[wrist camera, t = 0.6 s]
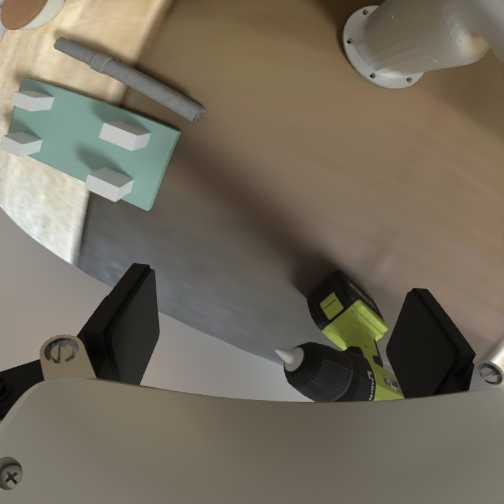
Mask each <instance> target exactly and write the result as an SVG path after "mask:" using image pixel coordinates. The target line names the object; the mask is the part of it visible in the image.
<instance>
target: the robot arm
mask: <svg viewBox="0 0 504 504" xmlns="http://www.w3.org/2000/svg"><path fill="white" fill-rule="evenodd" d="M363 13H365V15H364V14H363ZM347 41H349V42H350V44H348V43H347ZM342 42H343V48H344V51H345V54H346V57H347V58H348V60H349V62H350V64H351V65H352V66H353V68H354V69H355V70H356V71H357V72H358V73H359V74H360V75H361V76H362V77H363V78H365V79H366V80H368V81H369V82H371V83H373V84H375V85H377V86H380V87H384V88H391V89H396V88H403V87H408V86H410V85H412V84H414V83H415V82H416V81H418V80H419V79H420V77H421V76H422V75H423V73H424V72H427V71H432V70H438V69H443V68H449V67H456V66H462V65H468V64H471V63H474V62H476V61H478V60H479V59H481V58H482V57H483V56H484V55H485V54H486V52H487V51H488V50H489V48H491V49H492V51H493V52H494V54H495V55H496V57H497V58H498V60H499V61H500V62H501V63H502V64H503V66H504V0H386V1H385V2H383V3H382V4H381V5H380V6H379V5H377V6H367V7H363V8H361V9H359V10H357V11H356V12H355V13H354V14H352V15H351V16H350V18H349V19H348V20H347V22H346V24H345V25H344V29H343V33H342ZM370 75H372V78H370ZM406 79H408V82H407V80H406ZM159 332H160V330H159V318H158V307H157V295H156V280H155V271H154V269H150V266H149V265H147V264H138V263H133V264H132V265H131V267H130V268H129V269H128V270H127V272H126V273H125V274H124V275H123V277H122V278H121V279H120V281H119V282H118V283H117V285H116V286H115V287H114V288H113V290H112V291H111V293H110V294H109V295H107V296H106V297H105V298H104V299H103V301H102V302H101V303H100V305H99V306H98V307H97V309H96V310H95V311H94V313H93V314H92V316H91V317H90V318H89V320H88V321H87V323H86V324H85V325H84V327H83V328H82V330H81V331H80V332H79V334H78V335H77V336H72V335H65V334H64V335H57V336H55V337H52V338H50V339H49V340H47V341H46V342H45V343H44V344H43V345H42V347H41V349H40V359H39V360H36V361H33V362H30V363H27V364H23V365H20V366H17V367H14V368H11V369H8V370H5V371H1V372H0V504H504V373H503V371H502V370H501V369H500V368H499V367H498V366H497V365H496V364H494V363H492V362H490V361H487V360H481V361H478V362H476V363H475V365H474V364H473V362H472V361H473V359H474V358H475V356H476V354H475V352H474V351H473V349H472V348H471V346H470V345H469V344H468V342H467V341H466V339H465V338H464V336H463V335H462V334H461V332H460V331H459V330H458V328H457V327H456V325H455V324H454V323H453V321H452V320H451V319H450V317H449V316H448V315H447V313H446V312H445V311H444V310H443V308H442V307H441V306H440V304H439V303H438V302H437V301H436V299H435V298H434V297H433V295H432V294H431V293H430V292H429V290H427V289H421V288H413V289H412V290H411V292H408V293H407V295H406V298H405V301H404V304H403V306H402V309H401V312H400V314H399V317H398V320H397V322H396V325H395V327H394V330H393V332H392V335H391V337H390V340H389V342H388V344H387V348H386V354H387V357H388V359H389V362H390V364H391V366H392V369H393V371H394V374H395V376H396V378H397V381H398V383H399V386H400V388H401V391H402V393H403V396H404V398H405V399H393V400H378V401H357V402H287V401H267V400H266V401H265V400H251V399H238V398H227V397H218V396H209V395H201V394H193V393H186V392H179V391H172V390H166V389H160V388H155V387H148V386H142V385H140V383H141V380H142V378H143V375H144V373H145V370H146V367H147V365H148V363H149V360H150V358H151V355H152V353H153V351H154V348H155V345H156V343H157V341H158V337H159Z"/></svg>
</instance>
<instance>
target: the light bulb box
mask: <svg viewBox="0 0 504 504" xmlns="http://www.w3.org/2000/svg"><path fill="white" fill-rule="evenodd" d="M3 1H4V0H0V13H1V7H2V4H3ZM5 30H6V28H5V27H4V26H3V25H2V23H1V19H0V40H1V38H2V36H3V34H4V32H5Z"/></svg>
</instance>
